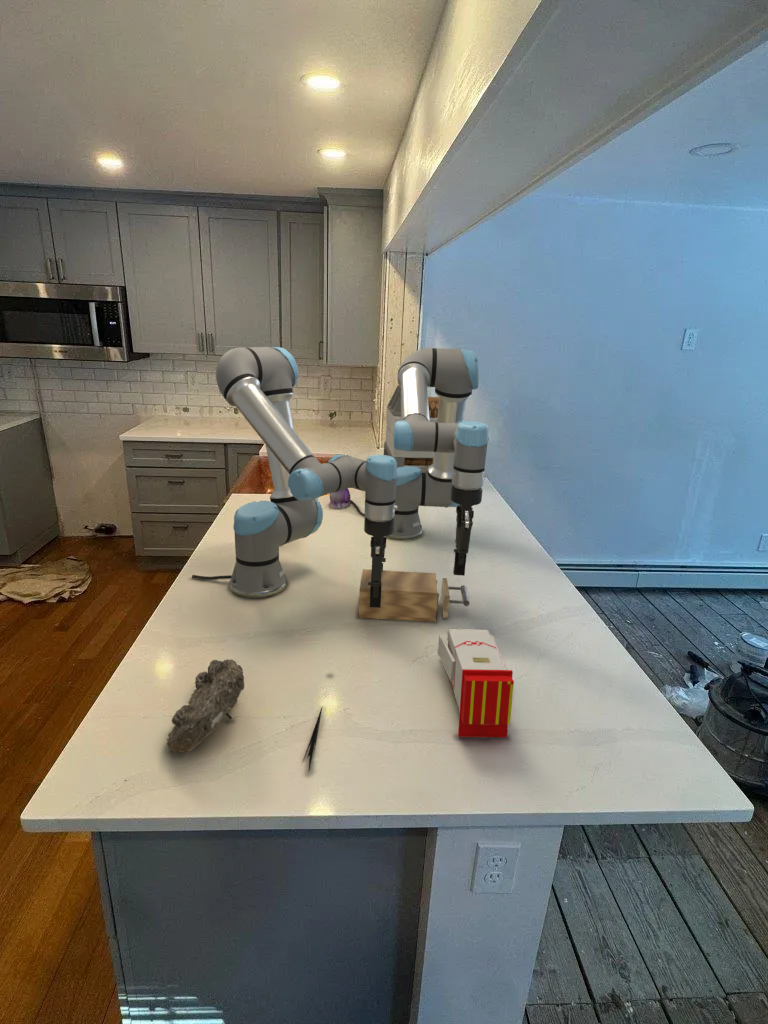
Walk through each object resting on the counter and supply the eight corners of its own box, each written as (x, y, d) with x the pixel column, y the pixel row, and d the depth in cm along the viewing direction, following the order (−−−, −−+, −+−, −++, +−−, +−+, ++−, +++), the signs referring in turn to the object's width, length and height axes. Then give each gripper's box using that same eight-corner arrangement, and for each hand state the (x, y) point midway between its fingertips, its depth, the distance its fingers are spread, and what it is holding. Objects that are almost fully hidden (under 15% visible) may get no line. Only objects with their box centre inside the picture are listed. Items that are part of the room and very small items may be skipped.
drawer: (464, 600, 154) (466, 579, 152) (468, 619, 145) (471, 597, 142) (377, 595, 154) (378, 574, 152) (375, 614, 145) (376, 591, 143)
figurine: (333, 510, 219) (334, 473, 214) (323, 502, 227) (324, 466, 222) (355, 507, 223) (356, 471, 218) (345, 500, 232) (346, 464, 227)
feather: (331, 679, 122) (336, 673, 122) (307, 777, 96) (313, 769, 95) (324, 675, 122) (329, 669, 121) (298, 772, 95) (304, 764, 95)
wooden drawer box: (433, 600, 155) (435, 573, 152) (435, 622, 145) (438, 592, 142) (361, 596, 155) (362, 569, 153) (358, 617, 145) (359, 588, 142)
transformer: (382, 463, 289) (386, 382, 275) (445, 464, 293) (451, 384, 279) (390, 482, 257) (394, 392, 243) (460, 483, 261) (468, 394, 247)
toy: (488, 613, 130) (523, 677, 101) (484, 667, 133) (517, 744, 104) (435, 612, 130) (455, 676, 101) (432, 666, 133) (451, 743, 103)
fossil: (192, 660, 117) (244, 628, 112) (224, 691, 120) (276, 661, 115) (142, 746, 98) (202, 712, 93) (182, 779, 101) (242, 748, 96)
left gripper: (393, 536, 130) (389, 619, 138) (395, 503, 153) (391, 576, 160) (361, 534, 130) (358, 617, 138) (367, 501, 153) (364, 574, 160)
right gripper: (486, 495, 132) (476, 586, 140) (479, 479, 144) (470, 564, 152) (454, 493, 132) (446, 584, 140) (449, 478, 144) (442, 562, 152)
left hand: (376, 595), depth 149 cm, fingers closed on wooden drawer box, 11 cm apart
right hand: (458, 574), depth 146 cm, fingers closed
